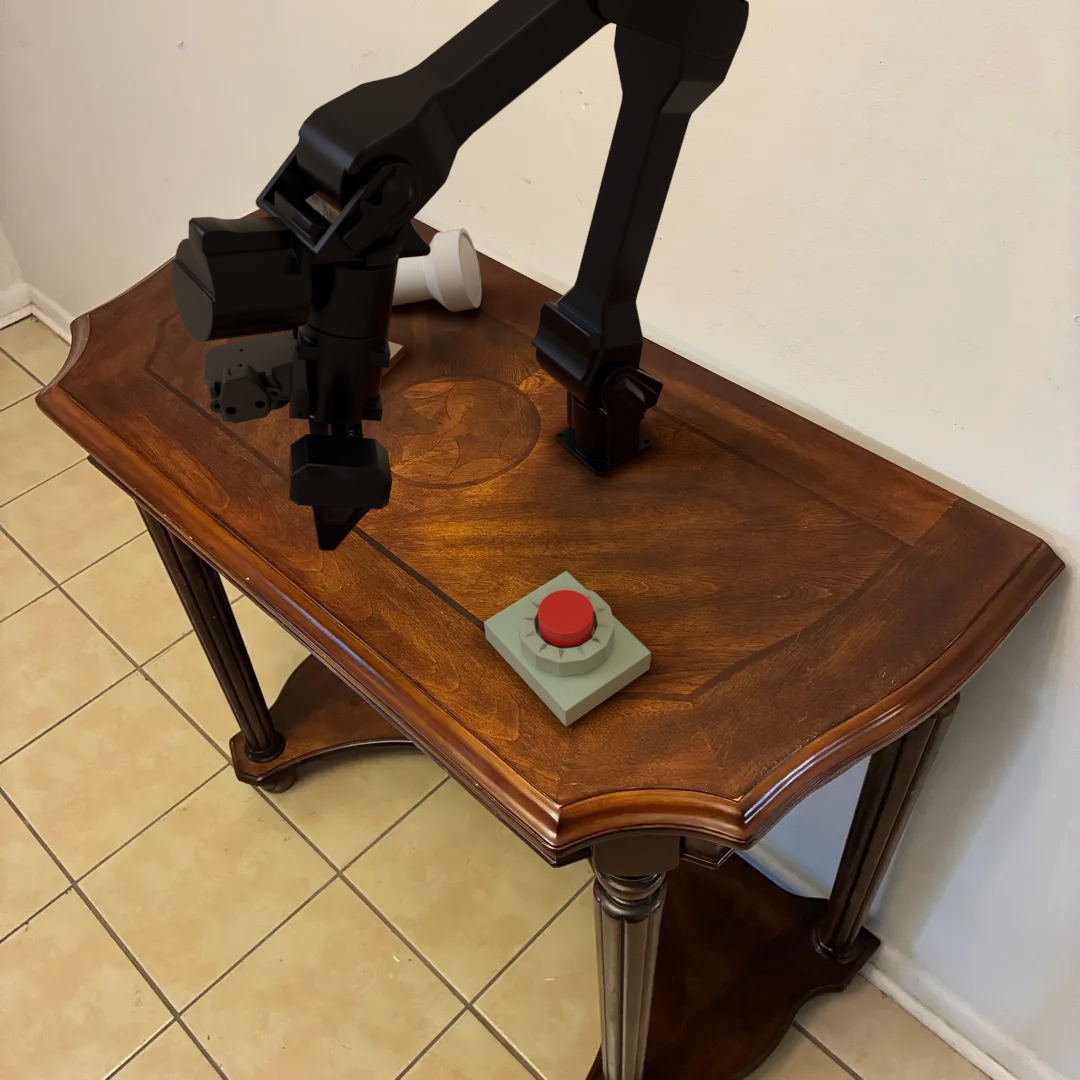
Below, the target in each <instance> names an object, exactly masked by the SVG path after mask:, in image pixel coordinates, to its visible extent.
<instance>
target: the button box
mask: <svg viewBox="0 0 1080 1080" xmlns="http://www.w3.org/2000/svg"><path fill="white" fill-rule="evenodd" d="M560 590H572V591H576V592H579V593H581V594H583V595H584V596H585V597H587V598H588V599H589V601H590V602H591V604H592V606H593V611H594V615H593V631H592V633H591V635H590V636H589V638H588V639H587V640H586V641H585V642H583V643H582V644H580V645H578V646H574V647H569V648H563V647H557V646H554V645H552V644H550V643H549V642H547V641H546V640H545V639H544V638H543V637H542V635H541V633H540V631H539V622H538V608H539V605H540V603H541V602H542V600H543V599H544V598H545V597H546V596H548V595H549V594H551V593H553V592H556V591H560ZM483 624H484V632H485V633H484V634H485V639H486V640H487V642H489V644H490V645H491V646H492V647H493V648H494V649H495V650H496V651H497V652H498V653H499V655H501V657H502V658H503V659H504V660H505V661H506V662H507V663H508V664H509V666H510V667H511V668H512V669H513V670H514V671H515V672H516V673H517V674H518V676H519V677H520V678H521V679H522V680H523V681H524V682H525V683H526V685H528V687H529V688H530V689H531V691H533V692H534V693H535V695H537V696H538V698H539V699H540V700H541V701H542V702H543V703H544V704H545V705H546V706H547V708H548V709H549V710H550V711H551V712H552V713H553V714H554V716H556V717H557V719H558V720H559V721H560V722H561V723H562V724H563V726H564V727H566V728H567V727H569V726H570V725H571V724H573V723H574V722H576V721H577V720H579V719H580V718H581V717H583V716H584V715H586V714H587V713H589V712H590V711H592V709H595V708H596V707H598V706H599V705H600V704H602V703H603V702H604V701H606V700H607V699H609V698H610V697H612V696H613V695H614V694H617V692H619V691H620V690H622V689H624V688H625V687H627V686H628V685H629V684H630V683H631V682H633V681H635V680H636V679H637V678H638V677H640V676H642V675H644V674H645V673H646V672H648V671H649V670H650V669H651V658H652V652H651V650H649V648H648V647H646V646H645V645H644V644H643V643H642V642H641V641H640V640H639V639H638V638H637V637H636V636H634V634H633V633H632V632H630V630H629V629H628V628H627V627H625V626H624V625H623V623H621V622H620V621H619V620H618V619H617V618H616V617H615V616H614V615H613V612H612V608H611V606H610V605H609V604H608V603H607V602H606V601H605V600H604V599H603V598H602V597H601V596H600V595H598V593H596V592H595V591H593V590H590V589H587V588H585V587H584V586H583V585H582V583H580V582H579V581H578V580H577V579H576V578H575V577H574V576H573V575H572V574H571V573H570V572H569V571H567V570H565V571H564V572H561V573H560V574H559V575H557V576H555V577H554V578H552V579H551V580H549V581H548V582H546V583H544V584H542V585H541V586H539V587H537V588H536V589H534V590H533V591H532V592H530V593H528V594H526V595H525V596H523V597H522V598H520V599H518V600H517V601H516V602H514V603H512V604H511V605H509V606H507V607H505V608H504V609H502V610H501V611H499V612H498V613H496V614H494V615H493V616H491V617H489V618H487V619H486V620H484V621H483Z"/></svg>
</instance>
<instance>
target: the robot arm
mask: <svg viewBox="0 0 1080 1080" xmlns="http://www.w3.org/2000/svg"><path fill="white" fill-rule="evenodd" d="M749 14H750V2H749V1H748V0H497V1H496V2H494V3H493V4H492V5H491V6H490V7H488V8H487V9H485V10H484V11H483V12H482V13H480V14H479V15H478V16H477V17H475V18H474V19H473V20H472V21H470V23H468V24H467V25H466V26H464V27H463V28H462V29H461V30H460V31H458V32H457V33H456V34H454V36H452V37H450V39H448V40H447V41H446V42H444V43H443V44H442V45H440V46H439V47H438V48H437V49H436V50H435V51H433V52H432V53H431V54H430V55H428V56H427V57H426V58H425V59H424V60H422V61H421V62H419V63H418V64H417V65H415V66H414V67H411V68H410V69H408V70H406V71H404V72H401V73H400V74H397V75H393V76H388V77H384V78H381V79H380V78H379V79H375V80H371V81H367V82H363V83H360V84H358V85H357V86H355V87H353V88H351V89H350V90H347V91H345V92H344V93H342V94H340V95H338V96H336V97H334V98H333V99H330V100H329V101H327V102H325V103H323V104H322V105H320V106H319V107H317V108H316V109H314V110H313V111H312V112H311V113H310V114H309V116H308V117H306V118H305V120H304V121H303V122H302V124H301V126H300V128H299V130H298V133H297V135H298V142H297V144H295V146H294V147H293V148H292V150H291V151H290V153H289V154H288V155H287V157H286V158H285V160H284V161H283V162H282V164H281V165H280V167H278V169H277V171H275V173H274V174H273V176H272V177H271V179H270V180H269V181H268V182H267V184H266V185H265V187H263V189H262V191H261V192H260V193H259V194H258V196H257V197H256V199H255V205H256V207H257V208H258V209H259V210H260V211H261V212H263V213H264V214H265V215H266V216H265V217H248V218H246V217H245V218H219V217H216V216H215V217H214V216H199V217H198V216H197V217H191V218H190V219H189V220H188V238H187V237H186V238H184V239H182V240H181V241H180V242H179V243H178V246H177V249H176V250H175V251H176V252H175V257H174V258H175V259H172V260H171V262H170V263H171V264H170V269H171V270H170V274H171V285H172V291H173V292H172V293H173V297H174V300H175V305H176V308H177V311H178V314H179V317H180V319H181V322H182V324H183V326H184V327H185V330H186V331H187V333H188V334H189V336H190V337H191V338H192V339H193V340H195V341H196V342H199V343H204V342H205V343H206V342H213V341H220V340H227V339H236V338H237V339H238V338H243V337H250V338H245V339H240V340H236V341H230V342H226V343H222V344H217V345H215V346H213V347H211V348H210V349H208V350H207V351H206V353H205V358H204V367H203V380H204V383H205V386H206V388H207V390H208V391H207V392H208V393H209V395H210V398H209V409H210V410H211V411H212V412H213V413H216V414H217V415H218V417H219V419H220V420H221V421H222V422H226V423H232V424H240V423H244V422H249V421H253V420H258V419H264V418H267V416H269V414H270V413H271V411H276V410H279V409H282V408H284V407H286V406H287V405H288V419H295V420H307V422H308V430H309V433H305V434H304V435H302V436H301V437H299V438H298V439H296V440H295V441H294V442H292V443H290V444H289V459H288V500H289V501H291V502H292V503H294V504H295V505H297V506H300V507H301V506H303V507H311V510H312V516H313V522H314V528H315V533H316V534H315V535H316V541H317V546H318V550H320V551H325V552H326V551H328V552H329V551H330V552H333V551H335V550H336V549H337V548H338V547H339V546H340V545H341V543H342V542H343V541H344V540H345V539H346V537H347V536H348V535H349V534H350V532H351V531H352V530H353V529H355V527H356V525H358V524H359V522H360V521H361V520H362V519H363V518H364V517H365V516H366V515H367V514H368V513H369V512H370V511H371V510H382V509H384V508H386V507H388V506H389V505H390V499H391V493H392V486H393V476H392V471H391V463H390V457H389V451H388V450H387V449H386V448H385V446H383V444H381V443H380V442H379V440H377V439H376V438H371V437H365V432H364V431H365V429H364V422H363V421H371V422H372V421H373V422H382V418H383V410H384V407H383V400H382V395H381V389H382V382H383V378H382V375H383V368H384V367H385V368H389V362H390V355H391V353H390V348H389V342H388V341H389V330H390V324H391V316H392V311H393V306H392V303H393V296H394V289H395V282H396V275H397V268H398V260H399V259H401V258H409V257H421V256H427V255H428V254H429V253H430V251H431V248H430V246H429V245H430V243H427V242H426V241H425V240H424V239H423V237H422V236H421V235H420V234H419V233H418V231H417V229H416V227H415V226H414V224H413V222H412V220H413V219H414V218H415V217H416V216H417V215H418V213H420V212H421V211H422V209H423V208H424V207H425V206H426V205H427V204H428V203H429V201H430V200H431V199H432V198H433V197H434V196H435V195H436V194H437V193H438V192H439V190H440V189H441V188H443V186H444V185H445V184H446V182H447V181H448V178H449V176H450V173H451V170H452V167H453V165H454V162H455V160H456V157H457V154H458V152H459V150H460V148H462V146H464V145H465V143H466V142H467V141H469V139H470V138H471V137H472V135H474V134H475V133H476V132H478V131H479V130H480V129H481V128H483V127H484V126H485V125H487V124H488V122H490V121H491V120H492V119H493V118H495V117H496V116H497V115H499V114H500V113H501V112H502V111H503V110H504V109H506V108H507V107H508V106H509V105H511V104H512V103H513V102H514V101H515V100H517V99H518V98H519V97H520V96H521V95H522V94H524V93H526V92H527V91H528V90H529V89H530V88H531V87H533V85H535V84H536V83H537V82H538V81H540V80H541V79H542V78H543V77H545V76H547V74H548V73H549V72H551V71H552V70H553V69H555V68H556V67H557V66H558V65H560V64H561V63H562V62H563V61H565V60H566V59H567V58H568V57H569V56H571V54H573V53H574V52H575V51H577V50H578V49H579V48H581V46H582V45H584V44H585V43H586V42H587V41H588V40H590V39H591V38H592V37H593V36H595V35H596V34H597V33H598V32H599V31H601V30H602V29H604V27H606V26H608V25H610V24H613V25H615V32H614V40H613V52H614V55H615V62H616V68H617V71H618V78H619V82H620V83H619V84H620V88H621V102H620V106H619V109H618V114H617V118H616V121H615V125H614V130H613V134H612V138H611V141H610V147H609V150H608V154H607V158H606V162H605V166H604V169H603V172H602V173H603V174H602V177H601V181H600V185H599V189H598V192H597V197H596V200H595V204H594V209H593V213H592V217H591V221H590V224H589V229H588V232H587V236H586V240H585V243H584V244H585V245H584V249H583V252H582V256H581V260H580V264H579V268H578V272H577V276H576V280H575V282H574V284H573V286H572V287H570V289H569V290H568V291H566V292H565V293H564V294H563V295H562V296H561V297H560V298H559V299H558V300H557V301H545V302H544V303H543V305H542V306H541V308H540V315H539V324H538V327H537V330H536V333H535V335H534V337H533V339H532V341H531V345H532V346H533V347H534V348H535V360H536V363H538V365H539V366H540V368H541V369H542V370H543V372H544V373H546V374H547V375H548V376H550V377H551V378H552V379H554V380H555V381H556V383H558V384H560V385H561V386H562V387H563V388H565V389H566V422H567V425H568V427H566V428H564V429H563V430H560V431H558V432H557V433H556V434H555V442H556V443H558V444H559V445H560V446H561V447H562V448H563V449H565V450H566V451H567V453H569V454H570V455H572V456H573V457H574V458H575V459H576V460H578V461H579V462H580V464H582V465H583V466H584V467H585V468H587V469H588V470H589V471H590V472H591V473H593V475H595V476H597V477H603V476H605V475H607V474H609V473H610V472H612V471H613V470H615V469H616V468H618V467H620V466H622V465H623V464H625V463H627V462H628V461H629V462H630V460H632V459H634V458H635V457H637V456H639V455H640V454H642V453H644V452H646V451H647V450H649V449H651V448H652V446H653V440H652V439H651V438H650V437H649V436H647V435H646V434H645V433H644V432H642V431H641V423H642V421H643V420H644V419H645V414H646V413H647V411H648V410H649V409H651V408H653V407H655V406H656V405H657V403H658V401H659V399H660V396H661V394H662V393H661V392H662V391H663V390H662V389H663V387H664V383H663V382H662V381H661V380H659V379H658V378H656V377H655V376H654V375H653V374H652V373H650V372H648V371H647V370H646V369H645V368H644V367H642V366H641V365H640V363H641V359H642V352H643V347H644V346H643V345H644V335H643V330H642V326H641V320H640V315H639V312H638V311H639V309H638V306H637V300H638V295H639V291H640V288H641V284H642V282H643V278H644V275H645V271H646V268H647V265H648V261H649V258H650V254H651V251H652V249H653V244H654V241H655V238H656V234H657V231H658V228H659V225H660V220H661V217H662V214H663V210H664V207H665V204H666V201H667V198H668V193H669V190H670V188H671V184H672V180H673V177H674V175H675V170H676V167H677V164H678V163H677V162H678V160H679V158H680V157H679V156H680V153H681V151H682V147H683V143H684V140H685V136H686V133H687V130H688V126H689V123H690V120H691V118H692V115H693V113H694V112H695V111H696V110H697V109H698V108H700V106H701V105H702V104H703V103H704V102H705V101H706V100H707V99H709V97H711V95H712V94H713V93H714V92H715V91H716V90H717V89H718V88H719V87H721V85H722V84H723V83H724V82H725V79H726V78H727V75H728V73H729V71H730V68H731V66H732V63H733V62H734V59H735V56H736V54H737V52H738V50H739V47H740V44H741V43H742V40H743V38H744V35H745V32H746V30H747V25H748V20H749ZM313 194H317V195H318V196H319V197H320V198H321V199H323V200H324V201H325V202H326V203H327V204H329V205H330V206H331V207H332V208H333V209H335V210H336V211H337V212H338V213H339V215H338V217H337V218H336V219H335V221H333V222H330V221H329V220H328V219H326V218H325V217H324V216H323V215H322V214H321V213H319V212H318V211H317V210H316V209H315V208H313V207H312V206H311V205H310V204H309V203H308V202H306V201H305V200H306V199H308V198H309V197H310V196H312V195H313ZM283 332H288V333H283ZM276 333H281V334H276ZM274 334H275V335H274ZM251 336H254V337H251Z"/></svg>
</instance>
